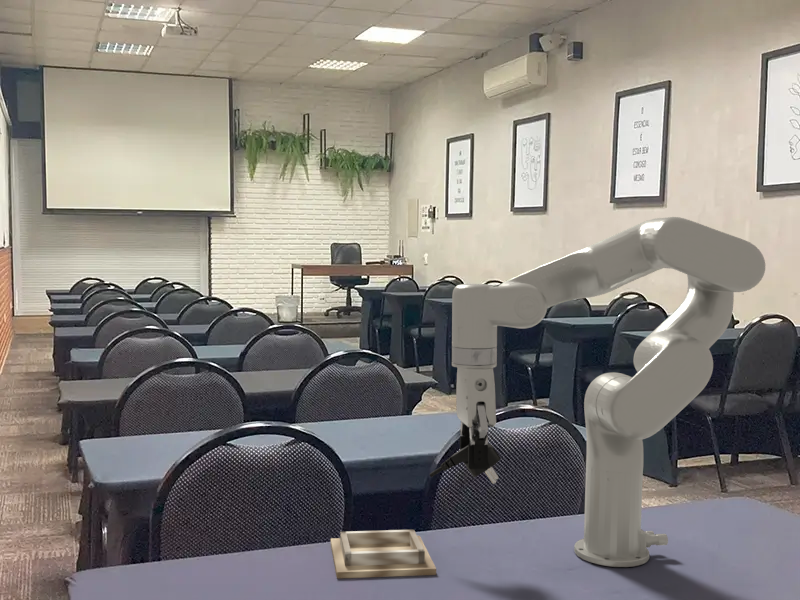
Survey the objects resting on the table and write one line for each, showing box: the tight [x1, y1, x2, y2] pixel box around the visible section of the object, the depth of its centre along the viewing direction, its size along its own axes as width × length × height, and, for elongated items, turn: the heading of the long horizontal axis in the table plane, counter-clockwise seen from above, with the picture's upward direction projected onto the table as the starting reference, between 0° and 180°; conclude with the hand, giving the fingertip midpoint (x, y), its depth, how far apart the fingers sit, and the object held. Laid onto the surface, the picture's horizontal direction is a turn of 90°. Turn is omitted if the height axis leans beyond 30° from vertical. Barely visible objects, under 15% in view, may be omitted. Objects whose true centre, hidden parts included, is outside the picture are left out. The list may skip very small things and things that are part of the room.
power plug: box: [429, 443, 502, 485], centre depth 144 cm, size 6×8×12 cm
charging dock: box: [330, 529, 437, 579], centre depth 143 cm, size 16×16×3 cm
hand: (473, 462), depth 144 cm, fingers closed on power plug, 5 cm apart
